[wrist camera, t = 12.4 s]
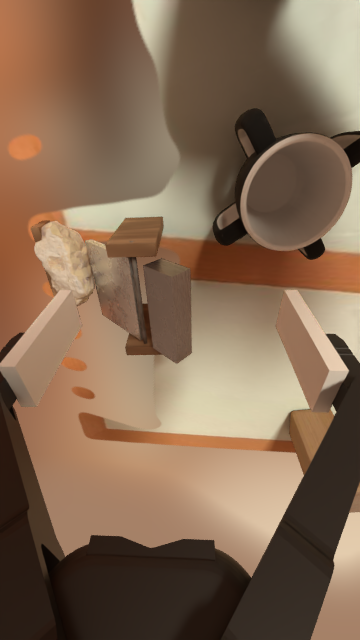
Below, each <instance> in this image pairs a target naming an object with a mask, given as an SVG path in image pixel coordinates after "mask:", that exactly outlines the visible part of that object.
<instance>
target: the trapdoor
mask: <svg viewBox="0 0 360 640" xmlns="http://www.w3.org/2000/svg"><path fill="white" fill-rule="evenodd" d="M85 243H86V247H87V251H88V255H89V259H90V264H91V268H92V272H93V276H94V280H95V284H96V289H97V293H98V297H99V302H100V306H101V310H102V314H103V315H104V316H105V317H107V318H108V319H110V320H111V321H113V322H114V323H116V324H117V325H119V326H120V327H121V328H123V329H124V330H126V331H127V332H129V333H130V334H132V335H133V336H135V337H136V338H138V339H139V340H142V339H143V335H142V328H141V321H140V314H139V307H138V301H137V294H136V287H135V280H134V273H133V266H132V259H131V257H116V258H108V256H107V251H106V246H105V245H104V244H102V243H99V242H97V241H94V240H92V239H90V240H87V241H85ZM143 268H144V276H145V285H146V293H147V301H148V310H149V318H150V326H151V335H152V343H153V348H154V349H155V350H157V351H158V352H160V353H161V354H163V355H164V356H166V357H167V358H169V359H170V360H172V361H173V362H175V363H176V364H177V363H179V362H180V361H181V360H183V359H184V358H186V357H187V356H188V355H190V354H191V353H192V346H191V279H190V268H187V267H184V266H182V265H179V264H176V263H173V262H170V261H167V260H165V259H159V260H156V261H154V262H151V263H149V264H146V265H143Z"/></svg>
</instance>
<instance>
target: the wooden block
mask: <svg viewBox="0 0 360 640" xmlns="http://www.w3.org/2000/svg"><path fill="white" fill-rule="evenodd" d="M333 418H334V415H333V413H332V411H331V409H330V411H329V413H326V412H311V409H308V410H298V411H293V412H291V419H290V432H289V434H290V437H291V439H292V442H293V445H294V448H295V451H296V454H297V456H298V459H299V462H300V465H301V468H302V471H303V474H304V475H305V473H306V471H307V469H308V467H309V465H310V463H311V461H312V459H313V457H314V455H315V453H316V451H317V449H318V447H319V445H320V443H321V441H322V440H323V438H324V436H325V434H326V432H327V430H328V428H329V426H330V424H331V422H332V420H333ZM350 512H360V483H359V486H358V489H357V491H356V494H355V497H354V500H353V503H352V506H351V509H350V511H349V513H350Z"/></svg>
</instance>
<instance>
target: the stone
mask: <svg viewBox="0 0 360 640" xmlns="http://www.w3.org/2000/svg"><path fill="white" fill-rule="evenodd" d="M34 250H35V254H36V256H37V257H38V259H39V260H41V261H42V265H43V267H44V269H45V271H47V272H48V273H49V275H50V276H51V278H52V279H51V281H52V287H53V288H54V289H56V291H57V292H59V291H60V290H72V292H73V296H74V299H75V302H76V306H78V305H81V304H82V303H84V302H86V301H87V300H88V299H89V296H90V295H91V294H92V293H93V289H94V287H95V282H94V278H93V272H92V268H91V264H90V259H89V255H88V251H87V247H86V245H85V243H84V241H83V239H82V237H81V235H80V234H79V233H78V232H77V231H75V230H73V229H70V228H68V227H66V226H64V225H61V224H60V223H59V222H58V221H53V222H49V223H47V224H45V225H44V226H43V227H42V240H40V241H38V242H36V243H35V247H34Z"/></svg>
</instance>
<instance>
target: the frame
mask: <svg viewBox="0 0 360 640" xmlns="http://www.w3.org/2000/svg"><path fill="white" fill-rule="evenodd" d="M49 222H50V221H41V222H39V223H38V224H36V225H34V226H33V227H31V231H32V234H33V237H34V239H35V242H38V241H40V240H42V227H43V226H44V225H45V224H47V223H49ZM162 231H163V217H144V218H125V219H124V221H123V222H122V223H121V225H120V226H119V227H118V229H117V230H116V231H115V233H114V234H113V235H112V237H111V238H110V239H109V241H108V242H107V243H106V245H105V246H106V251H107V256H108V258H116V257H131V259H132V266H133V273H134V280H135V287H136V294H137V301H138V307H139V314H140V321H141V328H142V335H143V339H142V340H139V339H138V338H136V337H135V336H133V335H132V334H130V333H129V337H128V340H127V343H126V347H125V348H126V353H127V355H163V354H161V353H160V352H158V351H157V350H155V349H154V348H153V343H152V335H151V326H150V318H149V310H148V304H142V298H141V291H140V283H139V277H138V268H137V261H136V257H150V256H151V257H152V256H156V255H157V251H158V247H159V243H160V239H161V235H162ZM46 274H47V277H48V280H49V283H50V286H51V289H52V292H53V295H54V297H55V296H56V294H57V293H58V292H57V291H56V289H54V288H53V287H52V281H51V279H52V278H51V276H50V275H49V273H48V272H47V271H46Z"/></svg>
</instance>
